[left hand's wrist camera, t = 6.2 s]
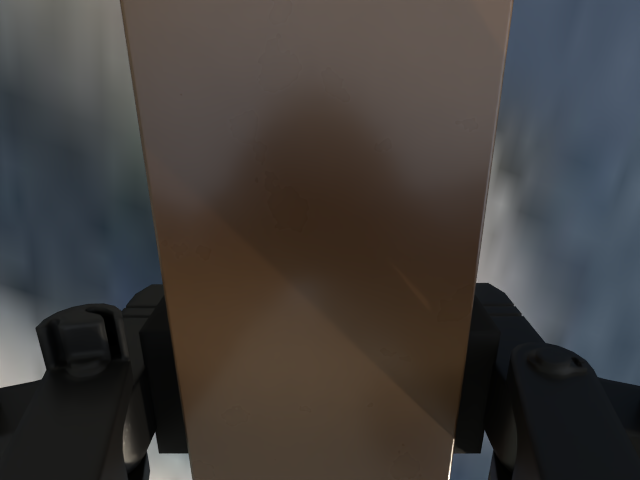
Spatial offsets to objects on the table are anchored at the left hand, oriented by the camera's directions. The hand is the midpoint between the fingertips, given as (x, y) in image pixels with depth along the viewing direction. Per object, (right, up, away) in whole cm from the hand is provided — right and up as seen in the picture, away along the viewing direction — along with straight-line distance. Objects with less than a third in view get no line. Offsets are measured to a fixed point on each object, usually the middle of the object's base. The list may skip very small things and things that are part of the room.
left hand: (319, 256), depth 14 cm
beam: (0, +21, -8) cm, 22 cm away
